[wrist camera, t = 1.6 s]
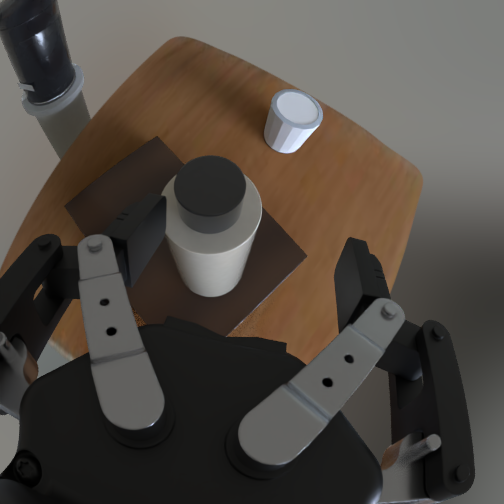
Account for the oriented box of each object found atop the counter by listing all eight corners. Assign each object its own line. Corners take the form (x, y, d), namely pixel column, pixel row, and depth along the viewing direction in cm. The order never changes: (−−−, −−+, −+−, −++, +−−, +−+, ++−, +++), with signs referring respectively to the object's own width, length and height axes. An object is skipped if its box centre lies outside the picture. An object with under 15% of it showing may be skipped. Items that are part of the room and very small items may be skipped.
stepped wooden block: (71, 214, 32) (41, 178, 23) (158, 148, 37) (155, 98, 27) (187, 357, 32) (190, 370, 22) (274, 274, 36) (308, 256, 27)
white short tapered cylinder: (254, 147, 40) (266, 117, 33) (265, 112, 42) (277, 81, 35) (301, 163, 41) (320, 136, 34) (308, 128, 42) (326, 100, 36)
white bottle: (165, 263, 24) (129, 181, 12) (212, 223, 25) (215, 123, 14) (209, 310, 23) (204, 264, 12) (256, 266, 25) (292, 188, 13)
